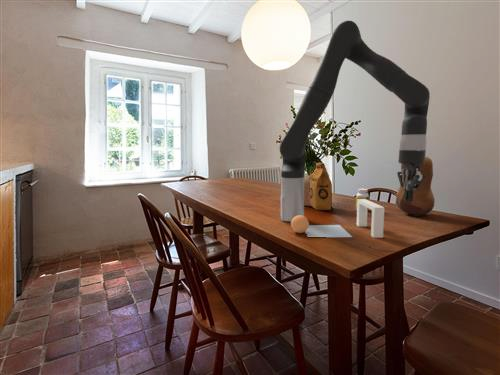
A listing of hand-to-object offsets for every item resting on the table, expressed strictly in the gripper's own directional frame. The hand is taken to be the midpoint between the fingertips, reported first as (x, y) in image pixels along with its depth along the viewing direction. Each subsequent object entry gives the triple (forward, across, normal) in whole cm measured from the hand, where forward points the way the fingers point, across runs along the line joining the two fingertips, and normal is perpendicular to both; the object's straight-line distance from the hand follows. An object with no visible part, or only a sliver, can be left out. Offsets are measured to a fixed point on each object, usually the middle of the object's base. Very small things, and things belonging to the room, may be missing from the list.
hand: (408, 200), depth 93 cm
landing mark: (+11, 0, -28) cm, 30 cm away
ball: (+8, +2, -36) cm, 37 cm away
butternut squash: (+10, -23, +15) cm, 30 cm away
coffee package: (+11, -39, -21) cm, 46 cm away
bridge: (+11, 0, -12) cm, 16 cm away
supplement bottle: (+11, -33, -3) cm, 35 cm away
